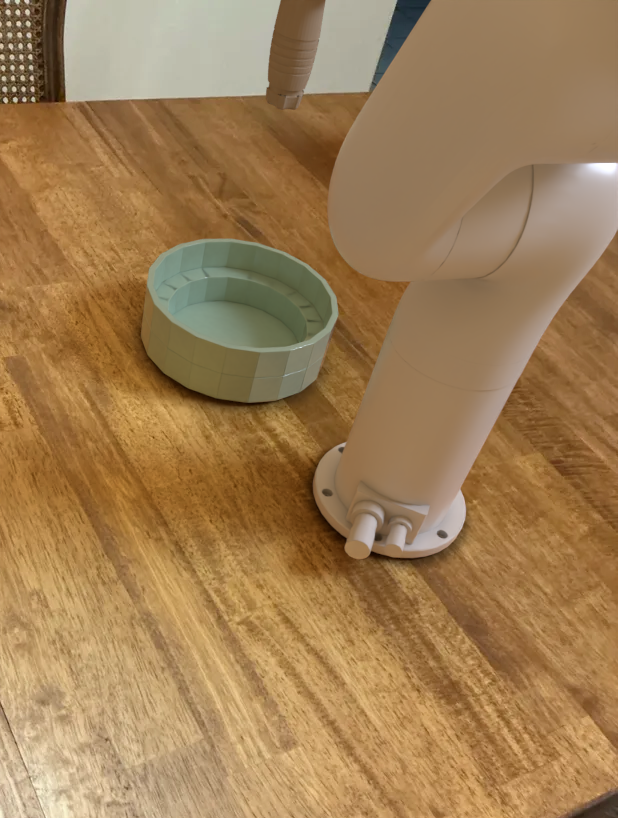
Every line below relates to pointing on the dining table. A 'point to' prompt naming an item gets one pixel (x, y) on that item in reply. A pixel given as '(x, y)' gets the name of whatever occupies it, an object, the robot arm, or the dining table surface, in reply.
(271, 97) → the handle
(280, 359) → the bowl
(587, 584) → the dining table surface
